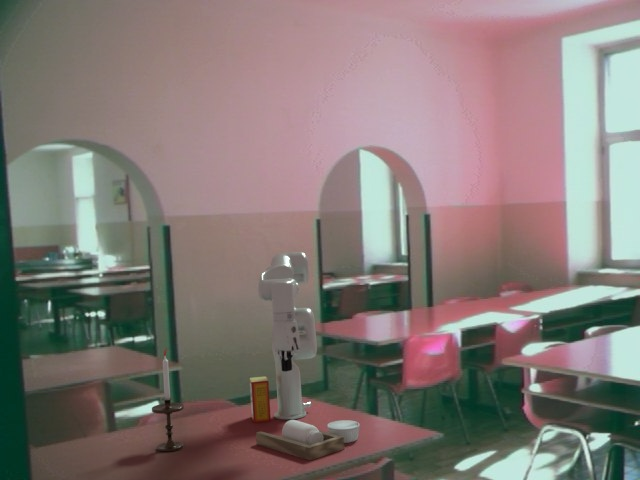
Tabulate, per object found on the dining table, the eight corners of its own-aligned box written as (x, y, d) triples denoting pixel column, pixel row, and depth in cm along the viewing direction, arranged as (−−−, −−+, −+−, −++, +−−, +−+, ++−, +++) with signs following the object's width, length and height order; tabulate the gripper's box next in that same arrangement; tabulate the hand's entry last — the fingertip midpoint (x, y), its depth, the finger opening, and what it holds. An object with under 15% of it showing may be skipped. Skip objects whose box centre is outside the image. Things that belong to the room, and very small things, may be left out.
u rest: (290, 434, 255) (289, 423, 255) (344, 448, 234) (343, 436, 234) (256, 444, 245) (256, 432, 245) (310, 460, 224) (309, 447, 224)
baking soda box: (251, 417, 283) (249, 376, 282) (268, 415, 284) (265, 375, 284) (253, 423, 273) (251, 381, 273) (270, 421, 274) (268, 379, 274)
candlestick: (191, 443, 250) (185, 344, 250) (177, 453, 239) (171, 349, 239) (163, 443, 253) (157, 344, 253) (148, 452, 242) (142, 350, 242)
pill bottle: (303, 433, 248) (330, 442, 236) (286, 447, 243) (313, 457, 232) (294, 414, 246) (321, 422, 234) (277, 428, 241) (303, 437, 229)
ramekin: (357, 444, 238) (356, 428, 238) (325, 444, 241) (324, 428, 240) (362, 435, 249) (361, 419, 249) (331, 434, 251) (330, 420, 251)
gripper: (306, 316, 240) (309, 371, 240) (278, 314, 251) (281, 366, 251) (289, 319, 235) (292, 375, 235) (261, 317, 246) (264, 370, 246)
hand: (287, 370), depth 243 cm, fingers closed
